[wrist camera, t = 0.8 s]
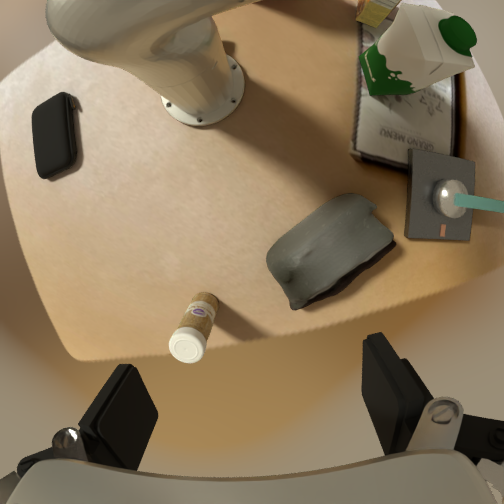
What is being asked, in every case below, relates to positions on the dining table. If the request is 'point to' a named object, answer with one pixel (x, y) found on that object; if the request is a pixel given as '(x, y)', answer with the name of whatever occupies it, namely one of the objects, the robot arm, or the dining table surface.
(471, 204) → the teal pivot lever
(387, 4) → the candy box
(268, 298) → the dining table surface
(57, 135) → the carrying case or bag
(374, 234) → the rock
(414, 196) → the base
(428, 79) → the milk carton
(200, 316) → the sprinkles bottle
